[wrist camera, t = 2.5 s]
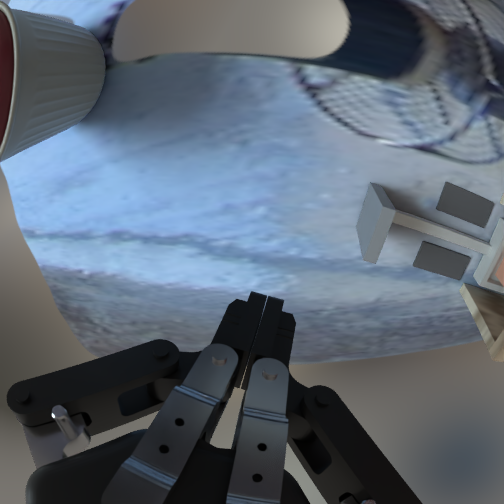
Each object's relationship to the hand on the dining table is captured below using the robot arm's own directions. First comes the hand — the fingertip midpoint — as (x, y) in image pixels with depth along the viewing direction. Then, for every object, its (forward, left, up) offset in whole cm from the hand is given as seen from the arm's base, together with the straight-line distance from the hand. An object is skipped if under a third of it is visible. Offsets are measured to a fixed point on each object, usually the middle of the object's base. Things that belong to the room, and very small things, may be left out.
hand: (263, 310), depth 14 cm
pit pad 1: (-4, +19, -21) cm, 28 cm away
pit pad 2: (+4, +19, -21) cm, 28 cm away
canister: (-9, -30, -21) cm, 38 cm away
